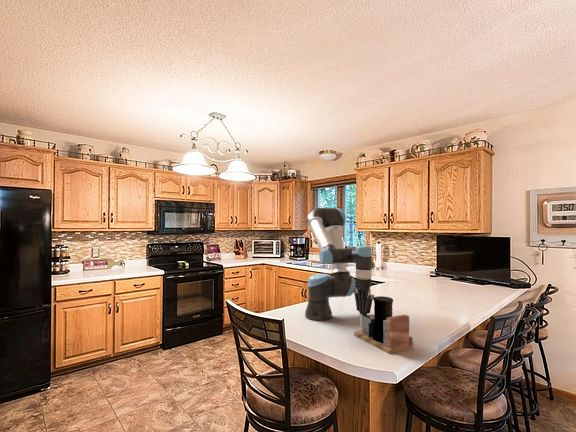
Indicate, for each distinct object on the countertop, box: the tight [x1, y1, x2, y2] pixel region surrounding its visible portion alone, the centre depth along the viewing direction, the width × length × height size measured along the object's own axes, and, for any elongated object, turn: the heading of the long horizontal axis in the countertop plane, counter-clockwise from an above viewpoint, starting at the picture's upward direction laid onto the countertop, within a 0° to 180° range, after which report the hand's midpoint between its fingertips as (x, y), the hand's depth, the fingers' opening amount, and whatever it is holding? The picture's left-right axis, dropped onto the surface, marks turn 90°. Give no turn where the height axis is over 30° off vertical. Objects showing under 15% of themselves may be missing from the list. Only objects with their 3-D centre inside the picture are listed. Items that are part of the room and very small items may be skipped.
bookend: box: [361, 313, 374, 337], centre depth 143 cm, size 7×10×8 cm
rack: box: [353, 314, 414, 355], centre depth 138 cm, size 23×13×14 cm, turn 26°
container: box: [372, 295, 394, 343], centre depth 136 cm, size 9×9×18 cm
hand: (363, 326), depth 149 cm, fingers closed
